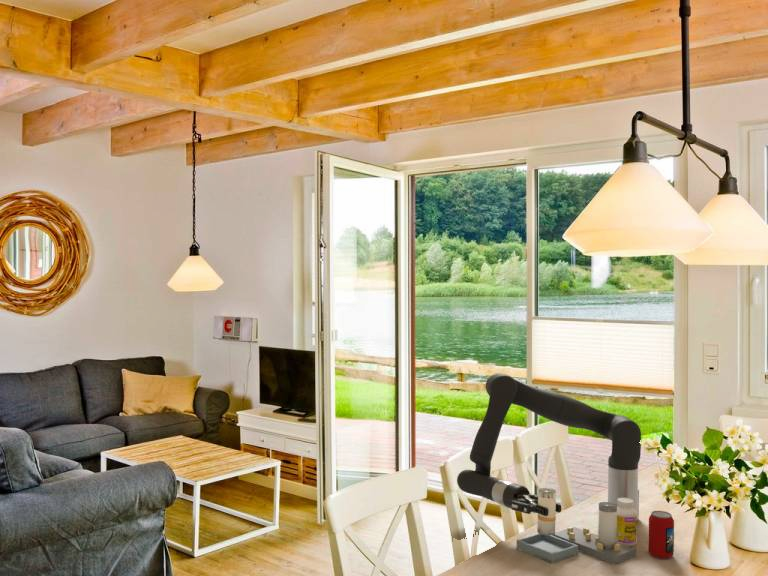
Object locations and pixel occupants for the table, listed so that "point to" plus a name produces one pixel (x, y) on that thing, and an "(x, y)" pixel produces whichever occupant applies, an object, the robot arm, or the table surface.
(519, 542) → the tray
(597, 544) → the block
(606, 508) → the cylinder
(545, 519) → the marked fuse
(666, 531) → the beverage can
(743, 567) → the table surface
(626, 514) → the supplement bottle
